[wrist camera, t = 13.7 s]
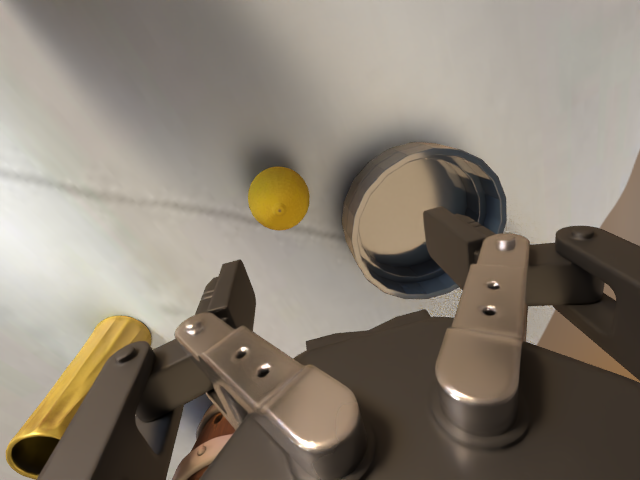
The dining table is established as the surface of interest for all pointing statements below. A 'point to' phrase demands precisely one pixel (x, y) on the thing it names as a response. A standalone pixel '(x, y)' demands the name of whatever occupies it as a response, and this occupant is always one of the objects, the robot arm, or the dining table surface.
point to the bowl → (415, 213)
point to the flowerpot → (205, 445)
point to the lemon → (278, 198)
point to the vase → (69, 394)
